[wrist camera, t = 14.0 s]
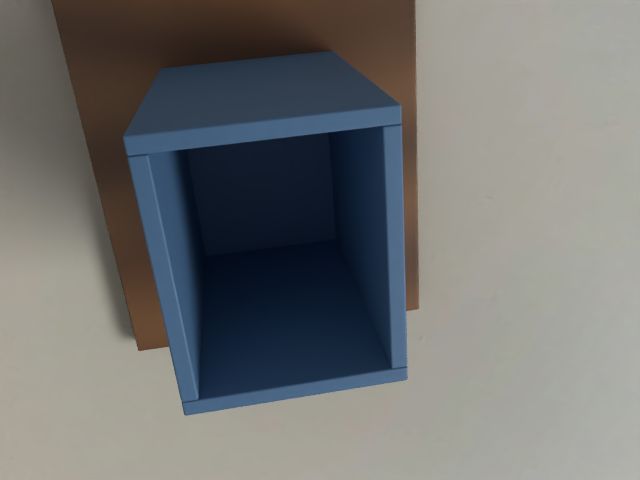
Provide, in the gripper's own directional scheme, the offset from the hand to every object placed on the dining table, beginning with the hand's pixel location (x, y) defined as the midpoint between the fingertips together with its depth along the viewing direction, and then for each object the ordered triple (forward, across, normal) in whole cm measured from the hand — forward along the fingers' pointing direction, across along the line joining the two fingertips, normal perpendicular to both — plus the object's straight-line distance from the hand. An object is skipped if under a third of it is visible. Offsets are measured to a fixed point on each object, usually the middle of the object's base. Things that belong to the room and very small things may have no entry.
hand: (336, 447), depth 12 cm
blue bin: (+20, 0, -1) cm, 20 cm away
